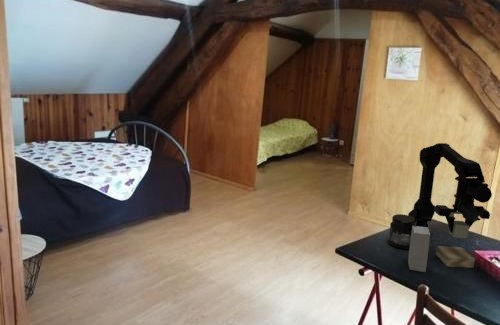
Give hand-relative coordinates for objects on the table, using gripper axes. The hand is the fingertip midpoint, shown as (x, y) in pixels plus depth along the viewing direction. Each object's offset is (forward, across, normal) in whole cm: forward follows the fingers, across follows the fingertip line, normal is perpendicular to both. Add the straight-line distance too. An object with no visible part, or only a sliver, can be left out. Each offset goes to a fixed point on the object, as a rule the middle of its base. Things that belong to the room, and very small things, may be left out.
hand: (458, 232), depth 155 cm
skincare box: (+12, -17, -8) cm, 22 cm away
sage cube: (+1, 0, 0) cm, 1 cm away
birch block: (+12, 0, -1) cm, 12 cm away
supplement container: (+11, -17, +11) cm, 23 cm away
